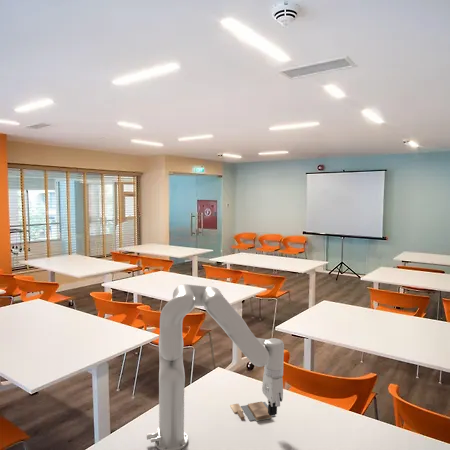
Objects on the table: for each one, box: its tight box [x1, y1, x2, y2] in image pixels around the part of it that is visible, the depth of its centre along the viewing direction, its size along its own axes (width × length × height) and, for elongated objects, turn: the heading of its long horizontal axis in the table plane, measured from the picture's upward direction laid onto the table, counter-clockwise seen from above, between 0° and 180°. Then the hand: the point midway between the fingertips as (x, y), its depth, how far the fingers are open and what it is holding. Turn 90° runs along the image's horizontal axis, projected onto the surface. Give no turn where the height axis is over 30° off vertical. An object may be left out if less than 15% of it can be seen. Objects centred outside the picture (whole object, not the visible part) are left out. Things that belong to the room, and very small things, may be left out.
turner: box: [229, 403, 246, 421], centre depth 159 cm, size 4×11×1 cm, turn 18°
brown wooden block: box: [247, 401, 272, 422], centre depth 158 cm, size 7×2×10 cm
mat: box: [240, 401, 276, 422], centre depth 160 cm, size 12×11×1 cm
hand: (272, 413), depth 146 cm, fingers closed
